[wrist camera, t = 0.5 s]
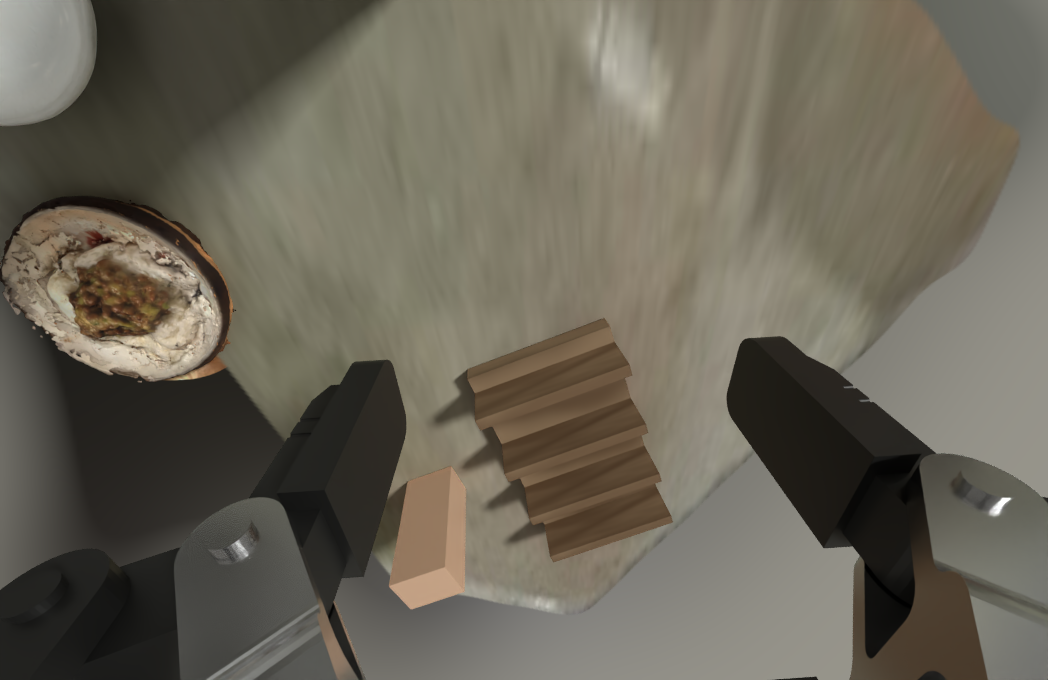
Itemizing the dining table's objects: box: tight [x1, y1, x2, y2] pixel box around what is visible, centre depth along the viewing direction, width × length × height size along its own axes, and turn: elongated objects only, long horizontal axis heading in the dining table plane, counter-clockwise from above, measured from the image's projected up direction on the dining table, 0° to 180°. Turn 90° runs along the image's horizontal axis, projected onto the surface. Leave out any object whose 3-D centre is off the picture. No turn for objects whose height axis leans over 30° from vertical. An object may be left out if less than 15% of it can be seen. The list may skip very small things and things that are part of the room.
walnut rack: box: [467, 318, 673, 562], centre depth 36 cm, size 22×12×5 cm, turn 20°
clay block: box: [389, 466, 466, 609], centre depth 35 cm, size 4×4×10 cm
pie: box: [0, 196, 236, 382], centre depth 26 cm, size 15×15×4 cm
